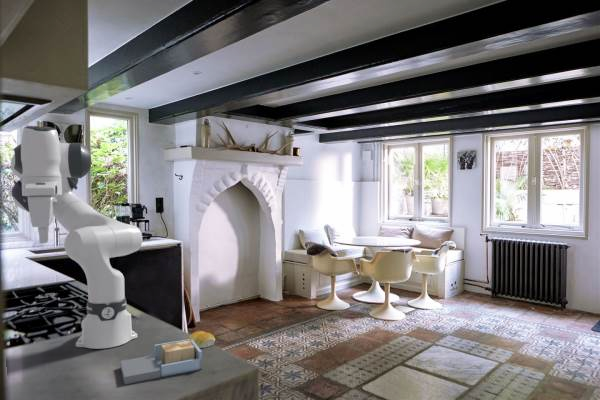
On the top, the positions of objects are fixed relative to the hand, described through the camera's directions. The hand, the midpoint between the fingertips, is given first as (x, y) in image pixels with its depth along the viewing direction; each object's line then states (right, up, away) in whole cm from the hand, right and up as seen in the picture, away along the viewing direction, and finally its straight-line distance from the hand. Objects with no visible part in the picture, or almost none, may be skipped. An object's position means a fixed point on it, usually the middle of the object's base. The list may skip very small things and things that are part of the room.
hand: (44, 242), depth 110 cm
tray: (+31, -37, +13) cm, 50 cm away
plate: (+21, -37, +8) cm, 43 cm away
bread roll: (+33, -37, +31) cm, 58 cm away
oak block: (+27, -34, +12) cm, 45 cm away
